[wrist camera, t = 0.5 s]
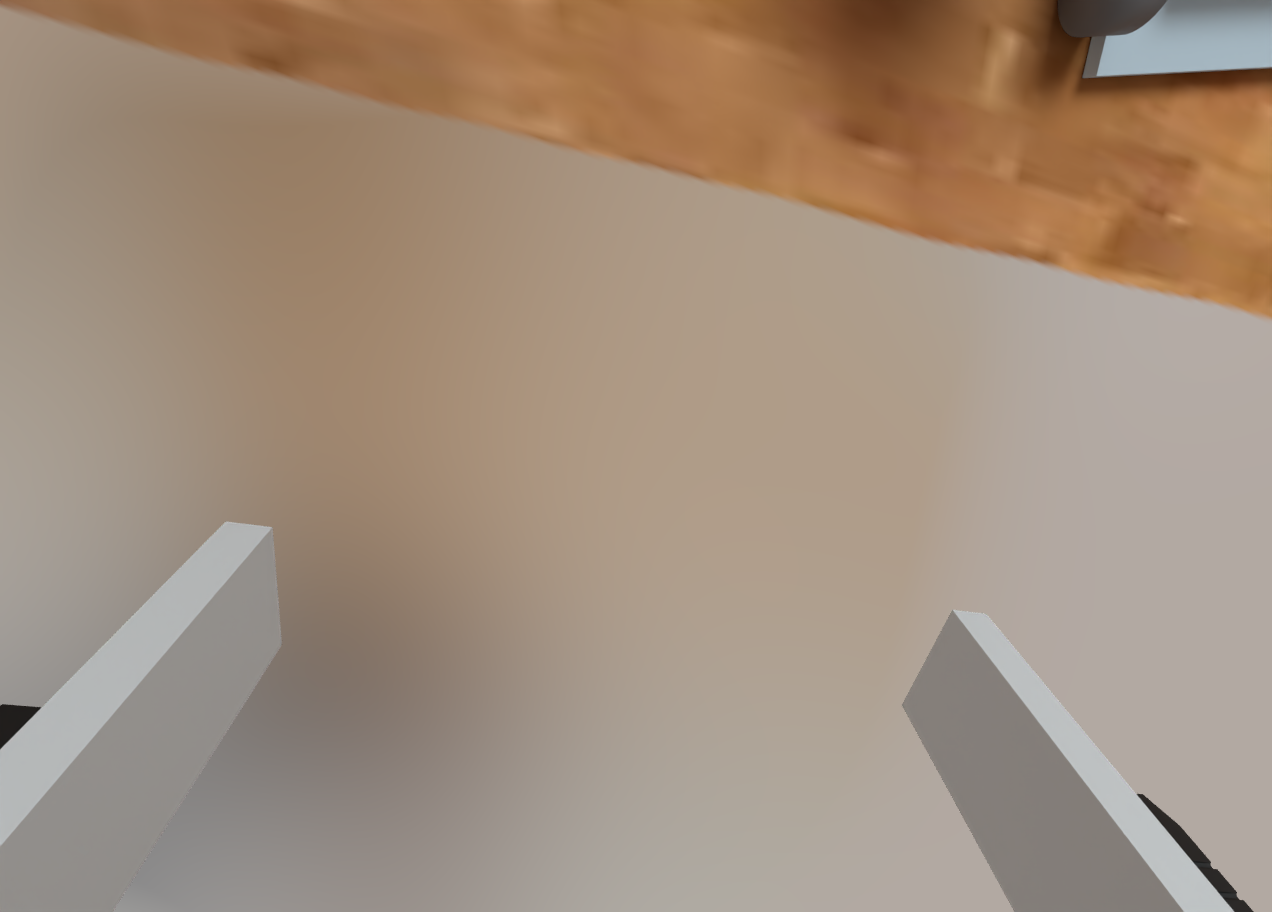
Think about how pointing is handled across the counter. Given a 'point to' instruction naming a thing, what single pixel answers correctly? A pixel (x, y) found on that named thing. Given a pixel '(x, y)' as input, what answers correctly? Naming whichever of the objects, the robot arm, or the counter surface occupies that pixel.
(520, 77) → the counter surface
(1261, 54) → the chassis
